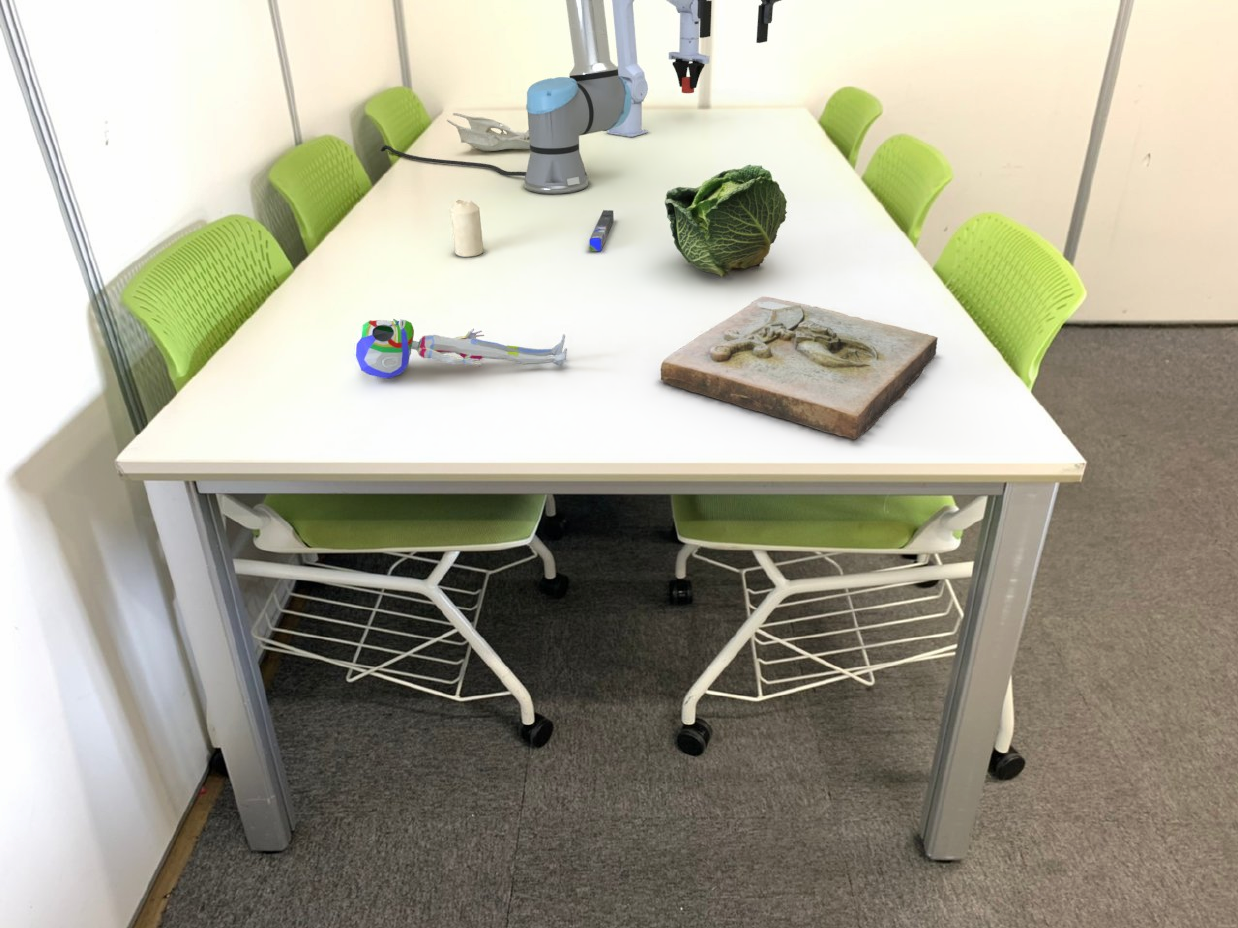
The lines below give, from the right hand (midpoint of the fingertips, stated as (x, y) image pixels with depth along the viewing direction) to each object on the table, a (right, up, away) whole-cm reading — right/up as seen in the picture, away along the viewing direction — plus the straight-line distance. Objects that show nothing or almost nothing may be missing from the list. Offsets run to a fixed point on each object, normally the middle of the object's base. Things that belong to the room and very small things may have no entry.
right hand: (688, 87), depth 272 cm
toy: (-44, -100, -140) cm, 178 cm away
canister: (0, -1, +1) cm, 1 cm away
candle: (-50, -73, -97) cm, 131 cm away
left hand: (+2, -30, -94) cm, 98 cm away
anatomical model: (-55, -28, -25) cm, 66 cm away
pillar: (-24, -68, -89) cm, 115 cm away
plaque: (+6, -101, -142) cm, 174 cm away
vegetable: (-2, -78, -106) cm, 132 cm away
